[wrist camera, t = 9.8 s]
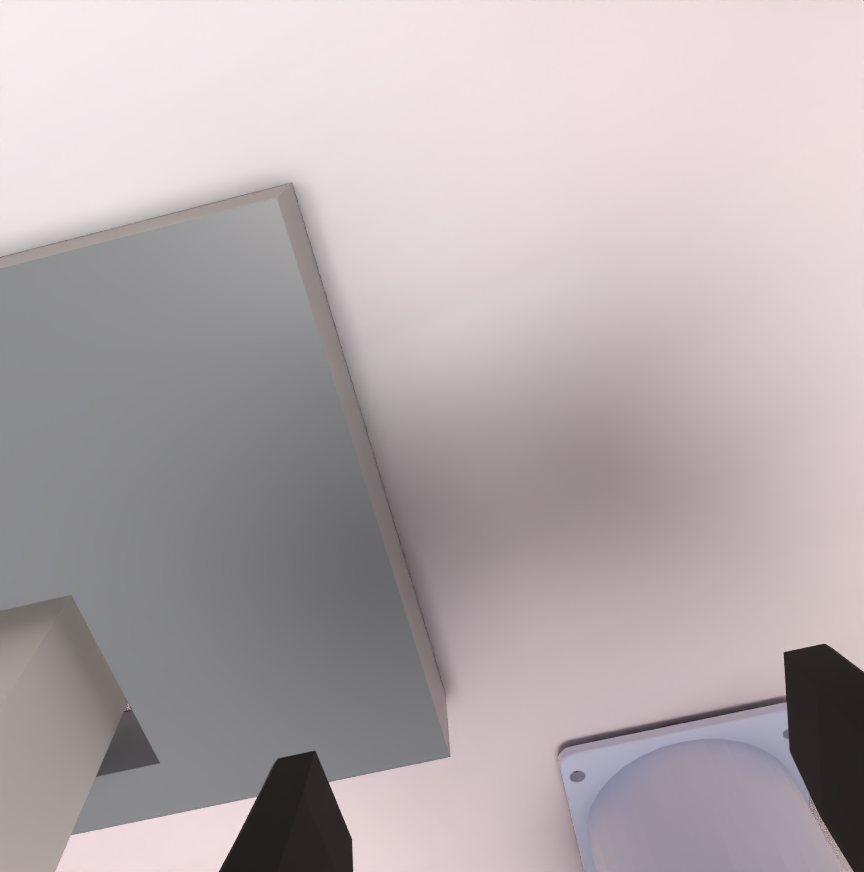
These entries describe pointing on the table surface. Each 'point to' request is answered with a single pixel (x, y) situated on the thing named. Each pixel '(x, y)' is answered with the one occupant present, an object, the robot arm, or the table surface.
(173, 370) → the outlet plate
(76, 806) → the beige rectangular block
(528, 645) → the table surface
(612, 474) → the table surface
